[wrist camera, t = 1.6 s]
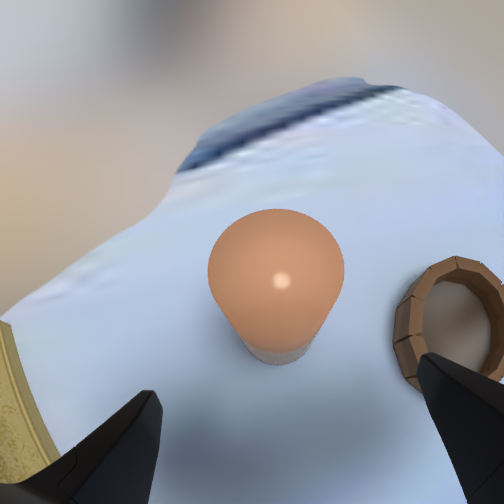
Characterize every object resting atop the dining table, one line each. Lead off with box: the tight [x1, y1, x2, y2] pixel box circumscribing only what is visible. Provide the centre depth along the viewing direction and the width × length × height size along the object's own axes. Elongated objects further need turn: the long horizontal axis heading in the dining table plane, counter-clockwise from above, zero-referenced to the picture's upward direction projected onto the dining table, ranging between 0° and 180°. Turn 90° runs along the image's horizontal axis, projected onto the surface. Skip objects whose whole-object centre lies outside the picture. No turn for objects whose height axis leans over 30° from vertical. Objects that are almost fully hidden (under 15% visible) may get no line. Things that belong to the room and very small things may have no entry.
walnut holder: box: [393, 256, 504, 394], centre depth 17 cm, size 10×10×3 cm
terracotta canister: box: [208, 209, 344, 365], centre depth 15 cm, size 5×5×11 cm
